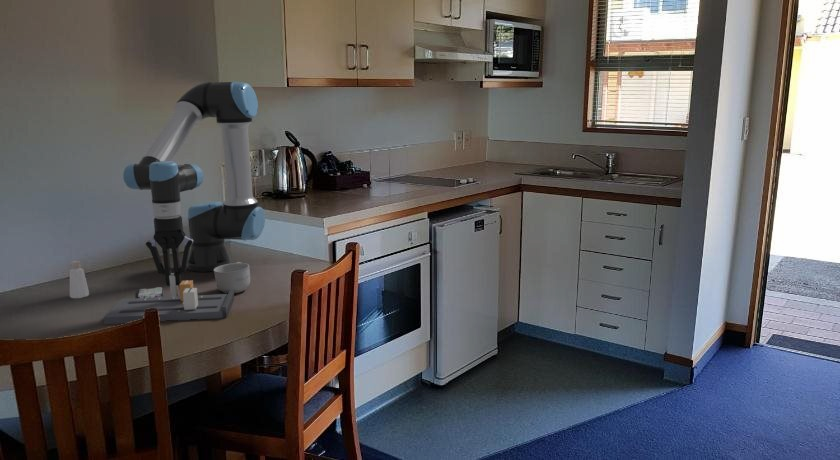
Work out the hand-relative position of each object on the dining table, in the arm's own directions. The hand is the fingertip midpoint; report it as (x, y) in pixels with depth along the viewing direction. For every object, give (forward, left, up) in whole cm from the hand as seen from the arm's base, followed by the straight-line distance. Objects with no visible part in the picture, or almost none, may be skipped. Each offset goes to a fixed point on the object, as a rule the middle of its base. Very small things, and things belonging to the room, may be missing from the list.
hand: (174, 295), depth 187 cm
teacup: (-15, +15, -4) cm, 22 cm away
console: (+4, 0, -3) cm, 5 cm away
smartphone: (-11, -10, -4) cm, 16 cm away
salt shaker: (-16, -32, -4) cm, 36 cm away
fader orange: (0, +4, -1) cm, 4 cm away
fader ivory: (+8, +6, -1) cm, 10 cm away
